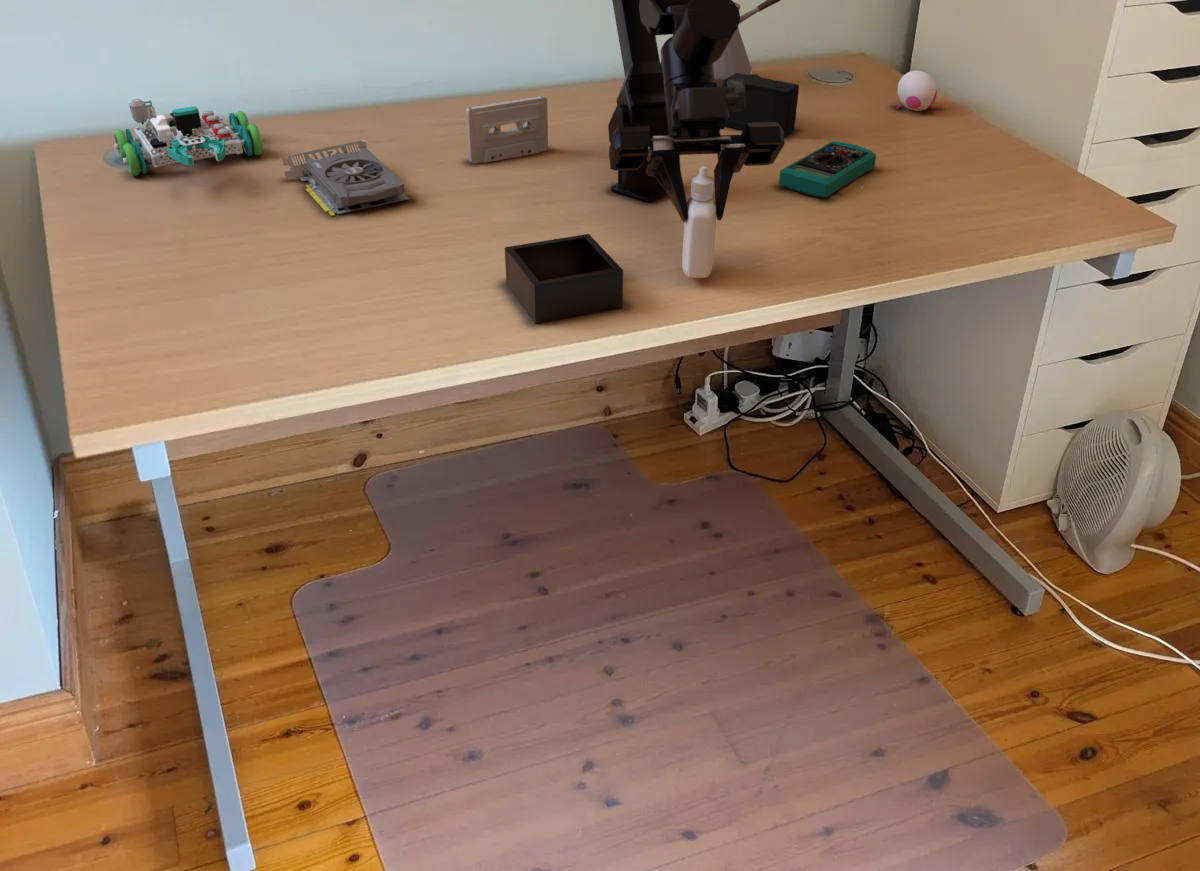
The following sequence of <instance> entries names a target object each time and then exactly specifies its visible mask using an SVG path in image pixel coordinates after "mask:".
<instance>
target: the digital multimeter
mask: <svg viewBox="0 0 1200 871" xmlns="http://www.w3.org/2000/svg"><path fill="white" fill-rule="evenodd" d="M876 159H877V154H876V153H875V152H874V151H872V150H871V149H868V148H866V147H863V146H860V145H857V144H853V143H849V142H843V141H837V140H836V141H835V140H834V141H833V140H831V141H829V142H828V143H826V144H825V145H822V146H821V147H819V148H818V149H816V150H815V151H813V152H811V153H810V154H807V155H805V156H804V157H802V158H800V159H798V160H796V161H795V162H792V163H791V164H788V165H786V166H785V167H783V168H782V169H781V170H780V171H779V180H778V184H779V185H780V186H781V187H783V188H784V189H788V190H791V191H795V192H798V193H801V194H805V195H808V196H812V197H815V198H821V199H825V198H827V197H829V196H830V195H832V194H833V193H835V192H837V191H839V190H840V189H842V188H843V187H845V186H847V185H848V184H850V183H852V182H853V181H855V180H856V179H857V178H859V177H861V176H862V175H864V174H866V173H867V172H869V171H870V170H872V169H874V168H875V165H876Z"/></svg>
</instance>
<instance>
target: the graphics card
mask: <svg viewBox="0 0 1200 871" xmlns="http://www.w3.org/2000/svg"><path fill="white" fill-rule="evenodd" d="M367 147H368V146H367V141H366V140H365V139H362V140H357V141H352V142H346V143H341V144H335V145H331V146H326V147H321V148H317V149H311V150H305V151H301V152H296V153H290V154H288V155H287V157H285V158H282V159H281V161H282V165H283V167H285V166H289V167H290V168H289V170H284V172H283V173H284V176H285V179H290V178H291V179H292V180H300V181H301V182H306V181H307V182H308V183H309V184H306V185H305V186H306V187H307V188H306V189H305V190H306V191H307V192H308V194H309V195H310V196H311V197H312V198H313V200H314V201H315V202H316V203H317V204H318V206H319V207H320V208H322V210H323V211H324V212H325V213H328V214H329V215H330V217H336V214H337V215H341V214H345V213H351V212H354V211H355V212H356V211H360V210H364V209H365V210H366V209H370V208H374V207H379V206H383V205H388V204H393V203H398V202H402V201H406V200H407V201H408V200H410V198H409V196H408V195H407V194H406V193H405V192H406V191H405V190H406V189H405V183H404V182H403V181H402V180H401V179H400V178H399V177H398V176H396V174H395V173H394V172H392V171H391V170H390V168H388V167H387V166H386V165H385V164H384V163H383V162H382V161H381V160H380V159H379V158H378V157H377V156H376V155H374V153H372V151H370V150H369V148H367ZM339 149H341V150H342V152H343V153H341V152H340V151H339ZM334 150H336V152H335V154H333V153H334ZM324 152H326V154H327V155H328V156H325V154H324ZM316 153H319V155H320V156H321V158H318V156H317V154H316ZM309 155H312V157H313V158H312V157H310V156H309ZM298 159H299V160H298Z"/></svg>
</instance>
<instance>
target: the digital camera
mask: <svg viewBox="0 0 1200 871" xmlns="http://www.w3.org/2000/svg"><path fill="white" fill-rule="evenodd" d="M729 79H744V86H745V95H746V105H745V109H744V110H742V111H733V112H729V118H728V119H726V118H725V119H726V126H725V127H728V128H731V129H737V130H741V131H743V130H744V127H745V125H746V123H762V122H777V123H778V124H779V125H780V127H781V128H782V129H783V133H784V138H785V137H787V136H789V134H791V133H793V132H794V131H795V126H796V118H797V111H798V110H797V108H798V100H799V90H800V84H798V83H793V82H787V81H782V80H777V79H771V78H767V77H762V76H760V75H759V74H755V73H750V75H745V74H740V73H736V74H734V75H732V76H730V77H728V78H727V79H725V80H724V82H725V81H727V80H729ZM723 87H724V84H723Z"/></svg>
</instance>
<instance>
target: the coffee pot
mask: <svg viewBox="0 0 1200 871" xmlns="http://www.w3.org/2000/svg"><path fill="white" fill-rule="evenodd" d="M780 1H781V0H764V1H763V2H762V3H760V4H758V5H757V6H756V7H754V8H753V9H751V10H749V11H747V12H746V13H744V14H741V15H740V22H739V24H741V23H743V22H744V21H746V20H748V19H749V18H752V16H754V15H755V14H757V13H759V12H761V11H764V10H765V9H767V8H769V7H771V6H773V5H775V4H777V3H779V2H780ZM733 2H734V3H735V5H736V6H737V7H738V9H739V10H740V9H741V4H740V3H738V2H736V1H733ZM713 67H714V77H715V82H717V86H718V87H723V84H724V80H725V79H727V78H728V77H730V76H732V75H734V74H736V73H740V74H745V75H750V74H752V73H751V72H752V66H751V63H750V60H749V56H748V54H747V50H746V47H745V45H744V41H743V38H742V35H741V32H740V29H739V27H738V28H737V30H736V31H735V33H734V35H733V36H732V38H731V40H730V42H729V43H728V45H727V47H726V48H725V50H724V52H723V53H722V55H721V57H720V58H719V59H718V60H717V61H716V62H714V63H713Z"/></svg>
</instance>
